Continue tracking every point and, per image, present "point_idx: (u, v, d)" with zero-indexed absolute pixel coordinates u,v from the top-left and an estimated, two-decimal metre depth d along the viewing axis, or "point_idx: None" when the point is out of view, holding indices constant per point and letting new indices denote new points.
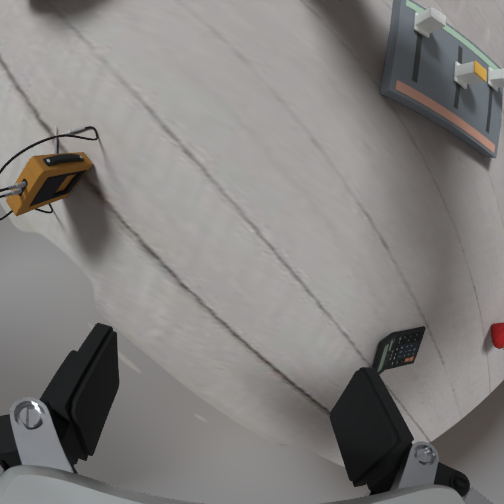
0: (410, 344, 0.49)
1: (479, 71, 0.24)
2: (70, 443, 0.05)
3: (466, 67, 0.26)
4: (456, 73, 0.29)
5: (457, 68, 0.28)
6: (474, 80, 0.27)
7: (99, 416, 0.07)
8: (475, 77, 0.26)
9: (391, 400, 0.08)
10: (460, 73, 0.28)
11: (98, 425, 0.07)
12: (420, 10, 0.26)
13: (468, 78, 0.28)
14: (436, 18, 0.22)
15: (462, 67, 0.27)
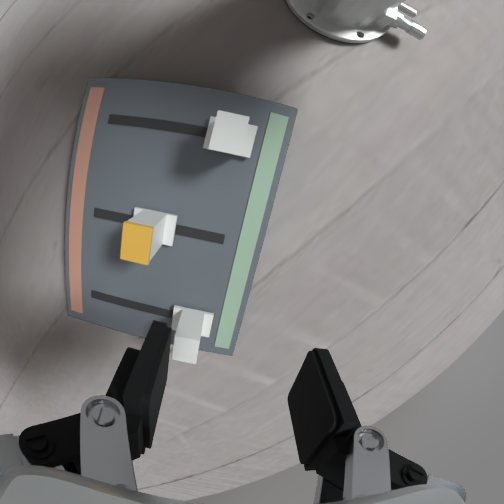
0: None
1: (132, 238, 0.20)
2: (139, 437, 0.06)
3: (148, 219, 0.21)
4: (149, 212, 0.24)
5: (159, 213, 0.24)
6: None
7: (157, 409, 0.08)
8: None
9: (340, 381, 0.09)
10: (142, 212, 0.23)
11: (155, 418, 0.08)
12: (272, 144, 0.23)
13: None
14: (217, 123, 0.18)
15: (154, 216, 0.22)
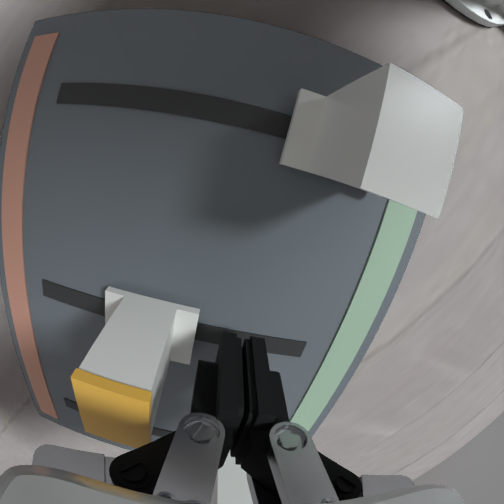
0: None
1: (101, 409, 0.06)
2: (229, 447, 0.07)
3: (135, 344, 0.08)
4: (136, 303, 0.11)
5: (160, 309, 0.10)
6: None
7: None
8: None
9: (268, 371, 0.09)
10: (121, 313, 0.09)
11: None
12: None
13: None
14: (391, 103, 0.05)
15: (148, 327, 0.09)
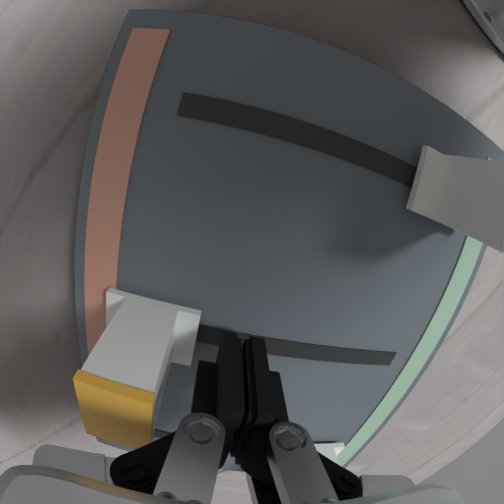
0: None
1: (103, 411, 0.06)
2: (229, 447, 0.07)
3: (137, 346, 0.08)
4: (138, 304, 0.11)
5: (161, 311, 0.10)
6: None
7: None
8: None
9: (268, 371, 0.09)
10: (123, 314, 0.09)
11: None
12: None
13: None
14: None
15: (150, 329, 0.09)
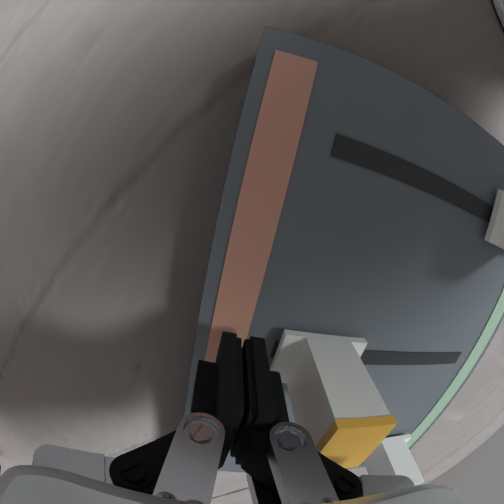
0: None
1: (346, 445, 0.07)
2: (228, 447, 0.07)
3: (352, 381, 0.09)
4: (316, 342, 0.12)
5: (341, 344, 0.11)
6: (301, 416, 0.10)
7: None
8: (313, 424, 0.08)
9: (269, 371, 0.09)
10: (319, 355, 0.10)
11: None
12: None
13: (305, 390, 0.10)
14: None
15: (348, 364, 0.10)
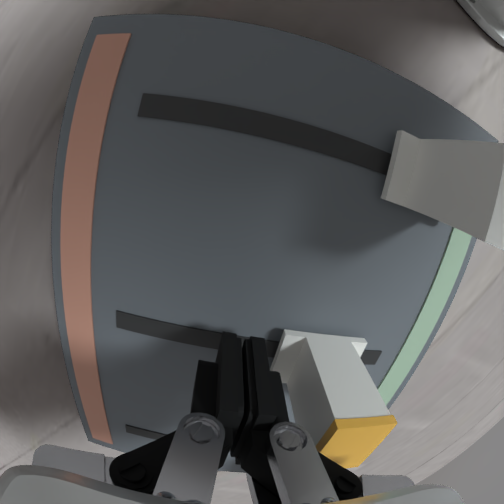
0: None
1: (346, 445, 0.07)
2: (228, 447, 0.07)
3: (352, 381, 0.09)
4: (316, 342, 0.12)
5: (341, 344, 0.11)
6: (301, 416, 0.10)
7: None
8: (313, 424, 0.08)
9: (269, 371, 0.09)
10: (319, 355, 0.10)
11: None
12: None
13: (305, 391, 0.10)
14: None
15: (348, 364, 0.10)
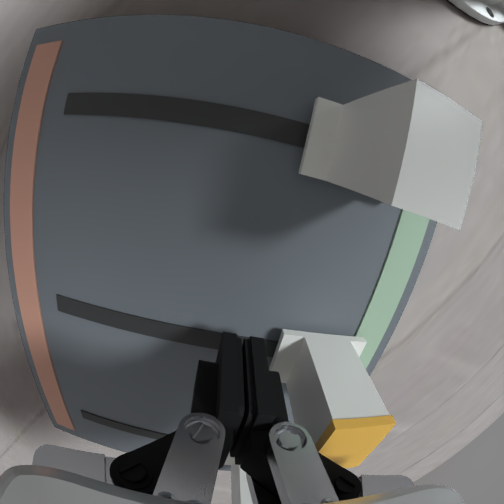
0: None
1: (344, 445, 0.07)
2: (229, 447, 0.07)
3: (351, 381, 0.09)
4: (314, 341, 0.12)
5: (340, 344, 0.11)
6: (300, 416, 0.10)
7: None
8: (311, 424, 0.08)
9: (268, 371, 0.09)
10: (317, 355, 0.10)
11: None
12: None
13: (303, 390, 0.10)
14: (419, 120, 0.05)
15: (347, 363, 0.10)
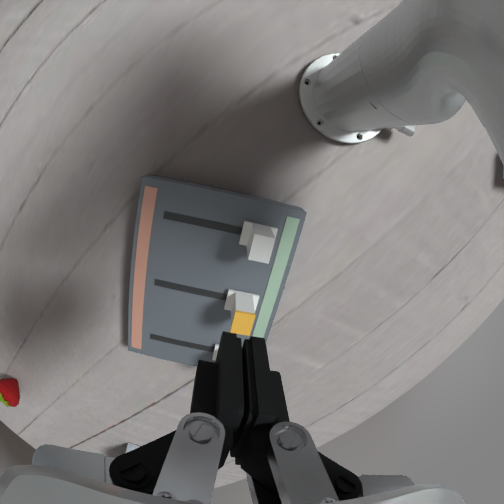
0: None
1: (240, 321, 0.32)
2: (229, 447, 0.07)
3: (246, 304, 0.33)
4: (239, 294, 0.36)
5: (248, 295, 0.36)
6: (231, 316, 0.34)
7: None
8: (233, 316, 0.33)
9: (269, 371, 0.09)
10: (238, 296, 0.35)
11: None
12: (287, 239, 0.35)
13: (233, 308, 0.34)
14: (254, 242, 0.29)
15: (247, 300, 0.34)
